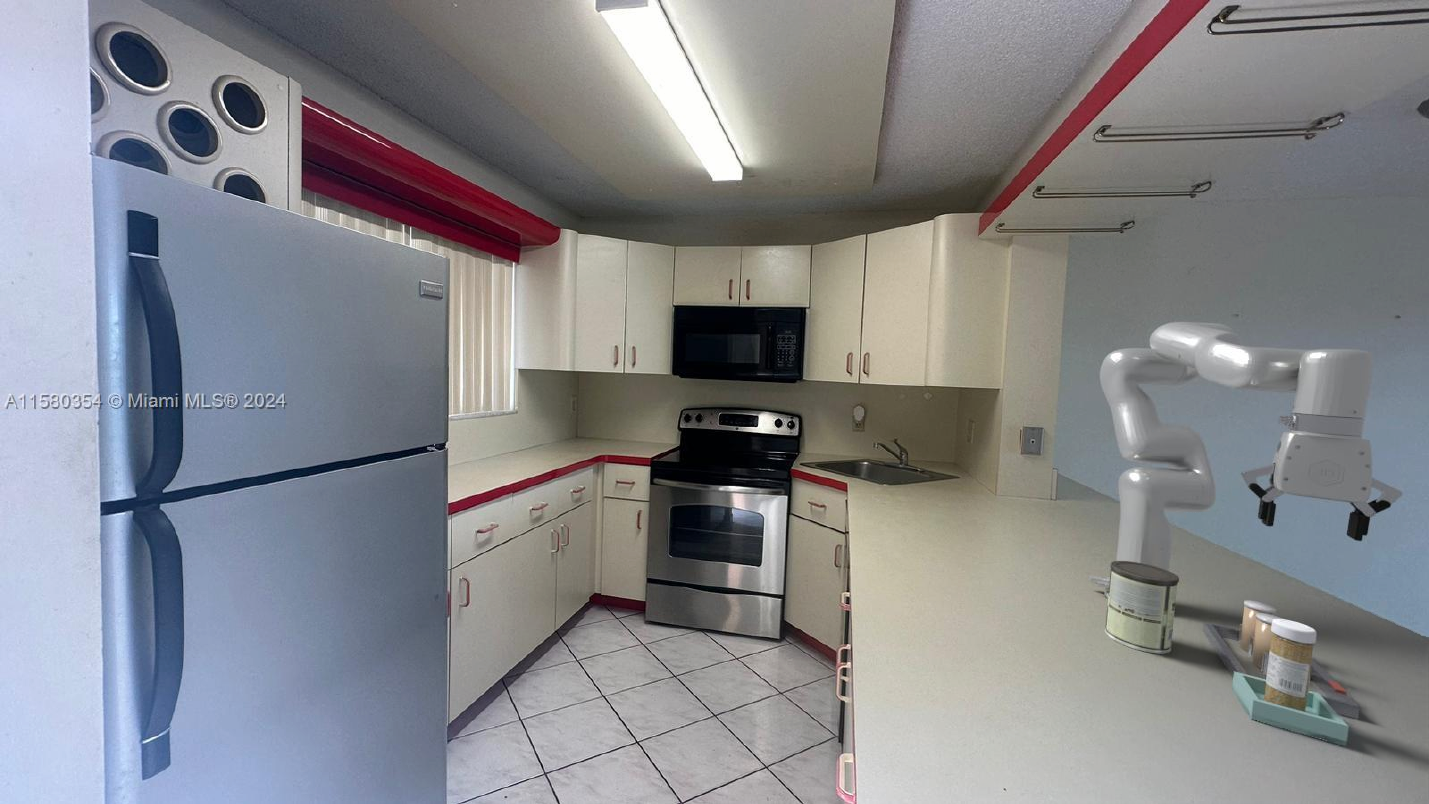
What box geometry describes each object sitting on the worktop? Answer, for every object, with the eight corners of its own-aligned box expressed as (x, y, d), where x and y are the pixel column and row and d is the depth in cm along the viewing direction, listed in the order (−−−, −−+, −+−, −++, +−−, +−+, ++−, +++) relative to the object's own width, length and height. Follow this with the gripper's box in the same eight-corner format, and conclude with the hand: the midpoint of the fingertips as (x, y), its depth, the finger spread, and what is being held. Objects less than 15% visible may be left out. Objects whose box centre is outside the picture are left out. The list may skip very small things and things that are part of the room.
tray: (1251, 719, 78) (1253, 700, 78) (1232, 688, 87) (1234, 671, 86) (1346, 747, 73) (1348, 726, 73) (1316, 711, 81) (1318, 693, 81)
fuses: (1255, 667, 94) (1260, 619, 93) (1236, 642, 103) (1241, 598, 103) (1288, 676, 92) (1294, 626, 91) (1265, 649, 101) (1271, 604, 101)
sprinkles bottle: (1308, 713, 79) (1319, 627, 79) (1302, 722, 77) (1314, 634, 76) (1265, 697, 83) (1275, 615, 83) (1258, 705, 81) (1269, 620, 80)
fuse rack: (1239, 687, 87) (1241, 667, 87) (1202, 631, 108) (1204, 614, 108) (1357, 719, 80) (1360, 697, 80) (1294, 652, 101) (1296, 634, 100)
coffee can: (1098, 622, 109) (1104, 556, 108) (1160, 635, 104) (1167, 567, 104) (1111, 645, 99) (1118, 572, 99) (1180, 660, 95) (1188, 584, 94)
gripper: (1256, 422, 85) (1241, 524, 86) (1424, 436, 75) (1404, 551, 77) (1243, 419, 91) (1229, 514, 92) (1398, 431, 81) (1379, 538, 83)
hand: (1309, 531), depth 85 cm, fingers open, 9 cm apart
